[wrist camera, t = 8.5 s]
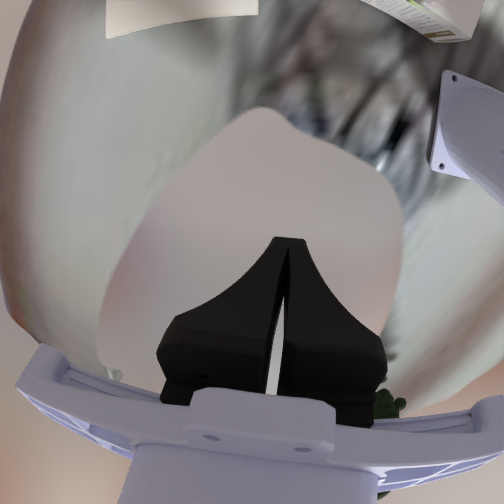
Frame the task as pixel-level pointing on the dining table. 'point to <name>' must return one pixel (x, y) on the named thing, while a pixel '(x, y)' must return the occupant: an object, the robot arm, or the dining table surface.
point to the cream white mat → (169, 12)
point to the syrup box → (435, 17)
